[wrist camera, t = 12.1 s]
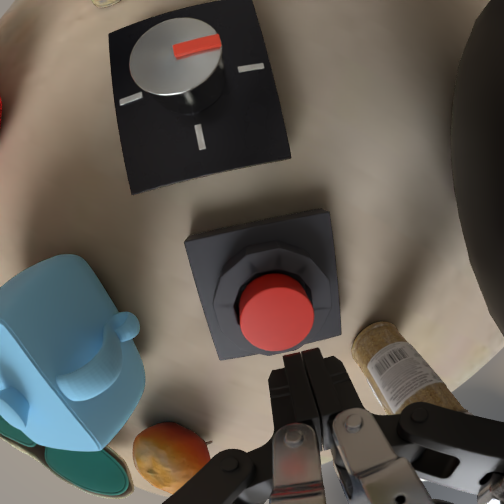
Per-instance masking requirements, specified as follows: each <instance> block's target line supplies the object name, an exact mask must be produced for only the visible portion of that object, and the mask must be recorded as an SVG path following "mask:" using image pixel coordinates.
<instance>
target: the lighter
mask: <svg viewBox="0 0 504 504" xmlns="http://www.w3.org/2000/svg"><path fill="white" fill-rule="evenodd" d="M92 1H93V4H94V5H95V6H97V7H101V8H102V7H109V6H111V5H114V4H116V3H118V2H119V1H121V0H92Z"/></svg>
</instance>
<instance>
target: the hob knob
mask: <svg viewBox="0 0 504 504" xmlns="http://www.w3.org/2000/svg"><path fill="white" fill-rule="evenodd" d="M129 66H130V73H131V76H132V78H133V80H134V81H135V83H136V84H137V85H138V86H139V87H140V88H141V89H143V90H144V91H145V92H146V93H147V94H149V95H150V96H151V97H152V98H154V99H155V100H156V101H157V102H158V103H160V104H161V105H162V106H163V107H164V108H166V109H167V110H169V111H172V112H175V113H179V114H191V113H196V112H199V111H202V110H204V109H206V108H208V107H209V106H211V105H212V104H213V103H214V102H215V101H216V100H217V99H218V98H219V97H220V95H221V94H222V92H223V90H224V87H225V83H226V72H225V64H224V56H223V48H222V42H221V39H220V36H219V34H218V33H217V32H216V30H215V29H214V28H213V27H211V26H210V25H209V24H207V23H205V22H203V21H201V20H198V19H194V18H174V19H170V20H167V21H164V22H161V23H159V24H157V25H155V26H154V27H152V28H151V29H149V30H148V31H147V32H145V33H144V34H143V35H142V36H141V38H140V39H139V40H138V41H137V43H136V44H135V46H134V48H133V50H132V53H131V56H130V63H129Z"/></svg>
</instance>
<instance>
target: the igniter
mask: <svg viewBox="0 0 504 504" xmlns="http://www.w3.org/2000/svg"><path fill="white" fill-rule="evenodd" d="M184 244H185V248H186V252H187V255H188V259H189V263H190V266H191V270H192V273H193V277H194V280H195V284H196V287H197V291H198V294H199V297H200V301H201V304H202V307H203V310H204V314H205V317H206V320H207V323H208V326H209V329H210V333H211V336H212V339H213V342H214V345H215V348H216V351H217V354H218V357H219V360H227V359H233V358H239V357H245V356H250V355H256V354H262V355H267V356H270V355H275V354H280V353H285V352H289V351H294V350H297V349H298V348H300V347H301V346H303V345H304V344H307V343H312V342H316V341H320V340H324V339H327V338H331V337H335V336H339V335H341V317H340V302H339V290H338V279H337V269H336V259H335V250H334V242H333V234H332V226H331V219H330V212H329V211H326V210H324V209H322V208H320V209H315V210H309V211H304V212H299V213H294V214H289V215H284V216H279V217H274V218H269V219H264V220H259V221H254V222H249V223H244V224H240V225H235V226H230V227H226V228H221V229H216V230H212V231H207V232H203V233H198V234H194V235H189V236H188V237H187V239H186V240H185V241H184ZM270 273H280V274H285V275H288V276H290V277H292V278H294V279H295V280H297V281H298V282H299V283H300V284H301V286H302V287H303V289H304V290H305V292H306V294H307V296H308V298H309V300H310V302H311V303H312V306H313V309H314V322H313V326H312V328H311V330H310V332H309V334H308V335H307V336H306V337H305V338H304V340H302V341H301V342H300V343H299V344H297V345H295V346H293V347H291V348H289V349H286V350H281V351H268V350H263V349H260V348H258V347H256V346H254V345H253V344H251V343H250V342H249V341H248V340H247V339H246V338H245V336H244V335H243V333H242V331H241V328H240V307H239V303H240V298H241V295H242V293H243V291H244V289H245V288H246V286H247V285H248V284H249V283H250V282H252V281H253V280H254V279H256V278H258V277H260V276H262V275H265V274H270Z"/></svg>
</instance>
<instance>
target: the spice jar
mask: <svg viewBox="0 0 504 504" xmlns="http://www.w3.org/2000/svg"><path fill="white" fill-rule="evenodd" d="M352 356H353V359H354V360H355V361H356V363H357V364H359V366H360V368H361V370H362V371H363V373H364V375H365V376H366V379H367V382H368V384H369V385H370V387H371V389H372V391H373V392H374V394H375V396H376V398H377V399H378V401H379V403H380V405H381V406H382V407H383V408H384V410H385V412H386V413H387V415H394V414H400V413H401V412H402V410H403V409H404V408H405V407H406V406H408V405H409V404H411V403H414V402H427V403H430V404H434V405H437V406H441V407H444V408H447V409H451V410H455V411H458V412H462V413H466V414H470V415H472V414H471V413H469V412H468V410H466V409H464V408H463V407H462V406H461V405H460V403H459V402H458V401H457V399H456V398H455V397H454V395H453V394H452V393H451V392H450V391H449V389H448V388H447V386H446V385H445V383H444V382H443V381H442V380H441V379H440V377H439V376H438V375H437V374H436V373H435V372H434V370H433V369H432V368H431V367H430V366H429V365H428V363H427V362H426V361H425V360H424V359H423V358H422V356H421V355H420V354H419V353H418V352H417V351H416V350H415V349H414V348H413V346H412V345H410V344H409V343H408V342H407V341H406V340H405V339H404V338H403V337H402V335H401V334H400V333H399V332H398V330H397V328H396V327H395V326H394V325H393V324H391V323H389V322H384V321H383V322H376V323H373V324H371V325H370V326H368V327H366V328H365V329H364V330H363V331H362V332H361V333H359V335H358V336H357V337H356V339H355V341H354V343H353V346H352ZM420 480H422V481H427V480H424V479H421V478H420Z"/></svg>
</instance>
